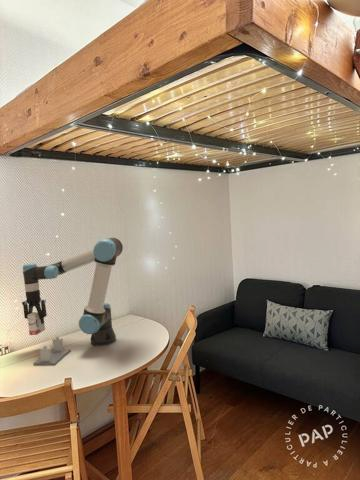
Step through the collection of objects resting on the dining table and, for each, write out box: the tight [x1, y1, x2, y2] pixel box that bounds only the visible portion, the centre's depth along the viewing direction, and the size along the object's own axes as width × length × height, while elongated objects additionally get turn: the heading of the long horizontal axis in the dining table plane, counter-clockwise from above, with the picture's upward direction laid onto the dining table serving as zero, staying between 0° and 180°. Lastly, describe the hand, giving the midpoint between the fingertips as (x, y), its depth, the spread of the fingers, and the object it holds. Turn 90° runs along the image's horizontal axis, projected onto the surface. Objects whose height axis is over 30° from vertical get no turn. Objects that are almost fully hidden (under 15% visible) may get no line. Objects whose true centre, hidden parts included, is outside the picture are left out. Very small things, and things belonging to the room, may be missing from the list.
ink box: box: [27, 310, 46, 336], centre depth 192 cm, size 9×5×12 cm, turn 169°
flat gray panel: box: [32, 336, 72, 366], centre depth 180 cm, size 12×18×9 cm, turn 173°
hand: (37, 329), depth 193 cm, fingers closed on ink box, 5 cm apart
